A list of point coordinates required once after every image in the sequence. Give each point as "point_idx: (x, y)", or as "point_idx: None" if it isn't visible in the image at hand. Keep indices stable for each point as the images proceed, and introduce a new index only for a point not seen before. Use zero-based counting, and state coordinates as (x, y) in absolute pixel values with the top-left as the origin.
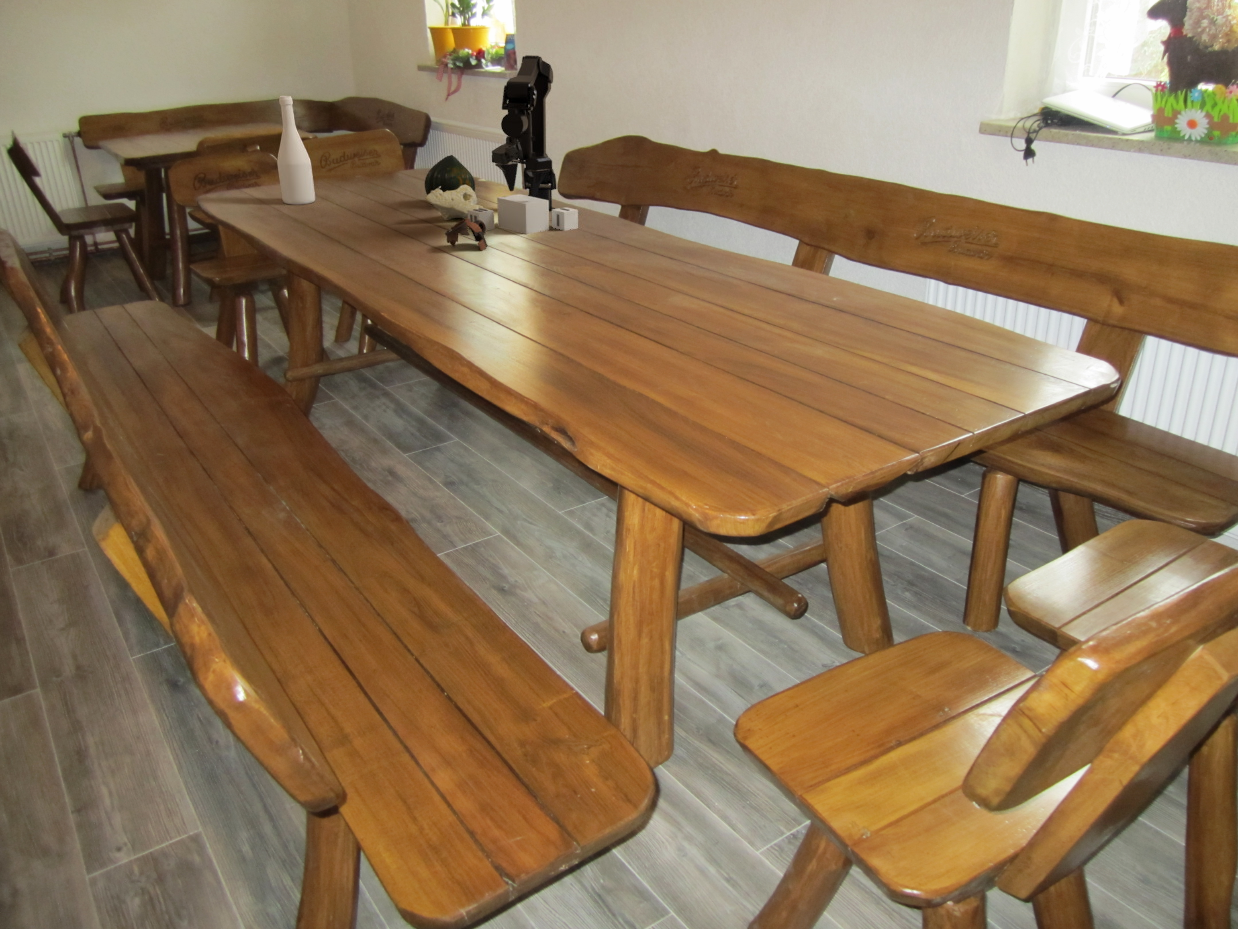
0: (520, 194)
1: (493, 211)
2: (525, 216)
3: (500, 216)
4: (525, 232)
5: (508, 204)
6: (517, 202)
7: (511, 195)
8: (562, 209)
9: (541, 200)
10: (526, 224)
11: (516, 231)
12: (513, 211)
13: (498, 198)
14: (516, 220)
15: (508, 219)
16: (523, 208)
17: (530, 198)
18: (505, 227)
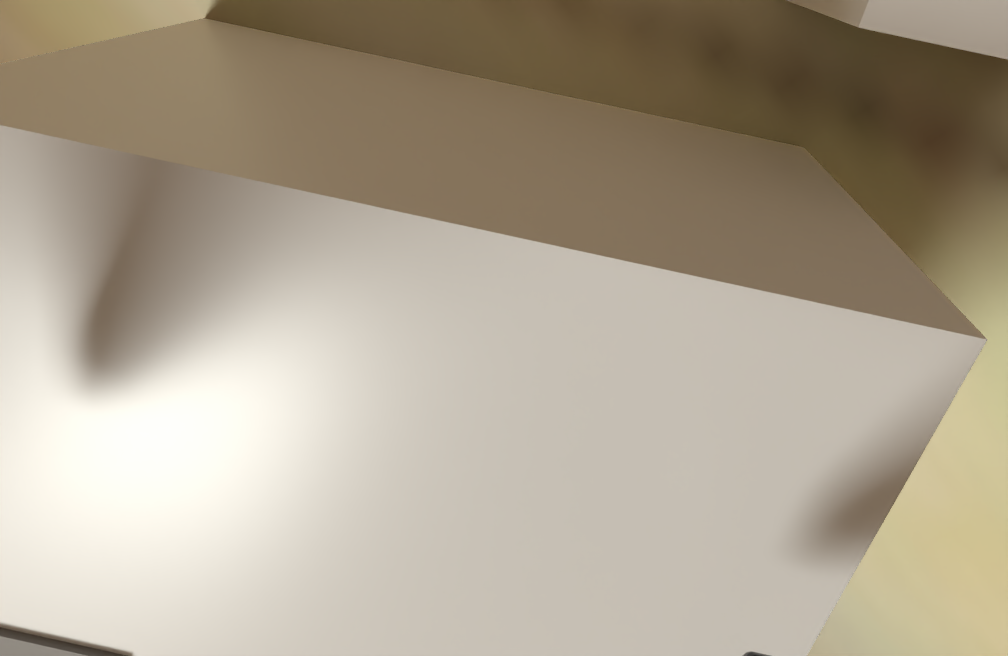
0: None
1: (857, 16)
2: (77, 56)
3: (778, 178)
4: (219, 26)
5: (543, 206)
6: (180, 160)
7: (797, 647)
8: (80, 645)
9: (40, 561)
10: (132, 34)
11: (414, 64)
12: (404, 137)
13: (927, 321)
14: (367, 91)
15: (571, 130)
16: (30, 88)
17: (309, 600)
18: (646, 115)
